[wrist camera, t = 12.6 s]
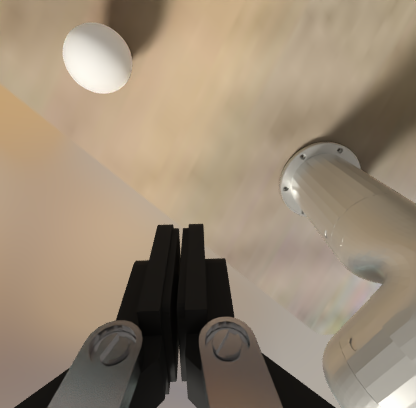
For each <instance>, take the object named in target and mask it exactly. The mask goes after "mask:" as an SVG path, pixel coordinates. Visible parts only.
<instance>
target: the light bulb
mask: <svg viewBox="0 0 416 408" xmlns="http://www.w3.org/2000/svg"><path fill="white" fill-rule="evenodd" d="M63 58H64V63H65V65H66V68H67V70H68V72H69V74H70V75H71V76H72V78H73V79H74V80H75V81H76V82H77V83H78V84H79V85H81V86H82V87H84V88H85V89H87V90H90V91H92V92H95V93H112V92H115V91H117V90H119V89H120V88H121V87H123V86H124V85H125V84H126V83H127V81H128V79H129V78H130V75H131V72H132V57H131V53H130V50H129V48H128V45H127V44H126V42H125V41H124V39H123V38H122V37H121V36H120V35H119V34H118V33H117V32H116V31H114V30H113V29H112V28H110V27H108V26H106V25H103V24H100V23H91V22H88V23H83V24H81V25H79V26H76V27H75V28H73V29H72V30H71V31H70V32H69V34H68V35H67V37H66V39H65V41H64V46H63Z"/></svg>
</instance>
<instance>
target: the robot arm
mask: <svg viewBox="0 0 416 408" xmlns="http://www.w3.org/2000/svg"><path fill="white" fill-rule="evenodd" d="M338 148H339V149H338ZM301 155H302V157H300V156H301ZM285 186H286V187H285ZM279 187H280V194H281V196H282V199H283V201H284V202H285V204H286V205H287V206H288V208H289V209H290V210H292V211H293V212H294V213H296V214H298V215H301V216H304V217H307V218H308V219H309V220H310V222H311V223H312V224H313V226H314V227H315V228H316V230H317V231H318V233H319V234H320V235H321V237H322V238H323V239H324V241H325V242H326V244H327V245H328V246H329V248H330V249H331V250H332V252H333V253H334V254H335V256H336V257H337V258H338V260H339V261H340V262H341V263H342V265H343V266H344V267H345V268H346V269H348V270H349V271H350V272H351V273H353V274H355V275H356V276H358V277H360V278H362V279H365V280H368V281H371V282H375V283H380V284H382V285H381V286H380V288H379V289H378V290H377V291H376V292H375V293H374V294H373V295H372V296H371V297H370V299H369V300H368V301H367V302H366V303H365V304H364V305H363V306H362V307H361V308H360V309H359V310H358V311H357V312H356V313H355V314H354V315H353V316H352V317H351V318H350V319H349V320H348V321H347V322H346V323H345V324H344V325H343V326H342V327H341V329H340V330H339V331H338V332H337V333H336V334H335V335H334V336H333V337H332V338H331V340H330V341H329V342H328V344H327V346H326V348H325V350H324V353H323V358H322V363H323V372H324V375H325V379H326V381H327V384H328V386H329V388H330V390H331V392H332V394H333V395H334V397H335V399H336V400H337V402H338V403H339V405H340V406H341V407H342V408H416V203H414V202H412V201H411V200H409V199H407V198H406V197H404V196H402V195H401V194H399V193H398V192H396V191H395V190H393V189H391V188H390V187H388V186H386V185H385V184H383V183H382V182H380V181H378V180H377V179H375V178H373V177H372V176H370V175H369V174H367V173H365V172H364V171H362V170H361V167H360V163H359V161H358V158H357V157H356V155H355V154H354V153H353V152H352V151H351V150H350V149H348V148H347V147H345V146H343V145H341V144H338V143H335V142H318V143H315V144H311V145H309V146H307V147H305V148H303V149H301V150H300V151H298V152H297V153H296V154H295V155H294V156H293V157H292V158H290V160H289V161H288V162H287V164H286V165H285V167H284V169H283V171H282V174H281V177H280V184H279ZM284 187H285V188H284ZM179 350H180V363H181V376H182V381H187V390H188V391H187V392H188V399H189V400H190V401H191V402H192V403H193V404H194V405H195V406H196V407H197V408H335V407H334V406H332V405H331V404H330V403H328V402H327V401H326V400H324V399H323V398H322V397H320V396H319V395H318V394H316V393H315V392H314V391H312V390H311V389H310V388H308V387H307V386H306V385H304V384H303V383H301V382H300V381H299V380H298V379H296V378H295V377H293V376H292V375H291V374H289V373H288V372H287V371H285V370H284V369H283V368H281V367H280V366H279V365H277V364H276V363H275V362H273V361H272V360H271V359H269V358H268V357H267V356H265V355H264V354H263V353H261V350H260V347H259V345H258V342H257V340H256V337H255V335H254V333H253V331H252V330H251V328H250V327H249V326H248V325H247V324H246V323H244V322H242V321H241V320H239V319H236V318H234V312H233V305H232V299H231V293H230V285H229V279H228V272H227V266H226V260H225V258H222V259H205V251H204V229H203V224H189V228H183V236H182V247H181V256H180V239H179V229H178V228H173V225H158V226H157V230H156V235H155V238H154V242H153V247H152V251H151V255H150V259H149V260H147V261H136V262H135V263H134V265H133V268H132V271H131V274H130V278H129V281H128V284H127V287H126V290H125V293H124V296H123V300H122V303H121V306H120V309H119V312H118V315H117V319H116V321H112V322H109V323H106V324H104V325H102V326H100V327H98V328H97V329H96V330H95V331H94V332H92V333H91V334H90V336H89V337H88V338H87V340H86V341H85V343H84V345H83V346H82V348H81V350H80V351H79V353H78V355H77V356H76V358H75V360H74V362H73V364H72V365H71V367H70V368H69V369H67V370H66V371H65V372H63V373H62V374H60V375H59V376H58V377H56V378H55V379H54V380H52V381H51V382H49V383H48V384H46V385H45V386H44V387H42V388H41V389H39V390H38V391H37V392H35V393H34V394H32V395H31V396H30V397H28V398H27V399H26V400H24V401H23V402H21V403H20V404H19V405H17V406H16V407H14V408H157V407H158V406H159V404H161V402H162V401H164V399H165V394H169V388H170V382H176V380H177V367H178V352H179Z"/></svg>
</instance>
